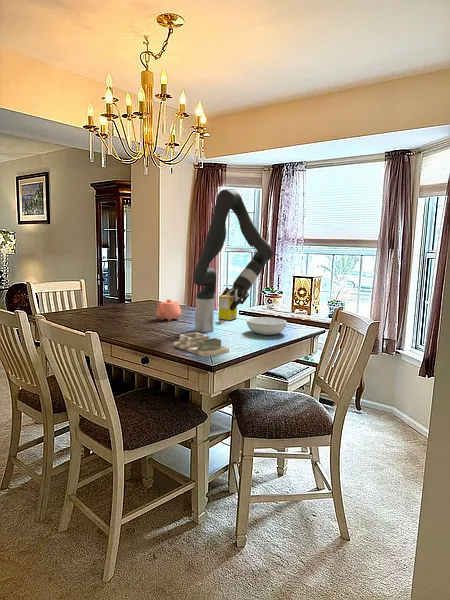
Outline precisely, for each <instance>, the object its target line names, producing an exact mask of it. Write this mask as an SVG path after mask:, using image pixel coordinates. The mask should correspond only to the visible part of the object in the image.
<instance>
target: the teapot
mask: <svg viewBox="0 0 450 600" xmlns="http://www.w3.org/2000/svg"><path fill="white" fill-rule="evenodd" d="M156 303H157V309H156V311H157V312H156V315H157V318H159V319H162V320H161V321H164V320H167V322H172V321H171V320H174V319H179V318H180V317H181V314H182V312H181V311H182V310H181V306H180V302H179V301H172V298H171V299H170V298H168V299H166V301H160V302H156Z"/></svg>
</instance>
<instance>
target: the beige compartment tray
mask: <svg viewBox="0 0 450 600" xmlns="http://www.w3.org/2000/svg"><path fill="white" fill-rule="evenodd" d="M178 337H179V340H178V341H173V346H174V347H176V348H178V349H180V350H181V349H182V350H184V351H187V352H190V353H192V354H194V355H197V356H199V357H203V358H205V357H210V356H214V355H219V354H224V353H229V352H230V348H229V347H226V346H222V339H219V338H216V337H212V338H210V336H209V335H207V334H203V333H202V332H198V331H197V332H196V331H195V332H189V333H183V334H179V336H178Z"/></svg>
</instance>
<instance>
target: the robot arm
mask: <svg viewBox="0 0 450 600" xmlns="http://www.w3.org/2000/svg"><path fill="white" fill-rule="evenodd" d="M230 210H232V212H233V214H234V215H235V217H236V218H237V221H238V224H239V230H240V232H241V234H242V236H243V237H244V240H245V241H246V243H247V244H248V245H249V246H250V247H251V248H253V247H254V248H255V249H256V250H257V251H256V252H255V253H254V254H253V257H252V258H251V260H250V261H249V262H248V263H247V265H246V266H245V268H244V269H243V270H242V271H241V272H240V273H239V274H238V276H237V277H236V279H235V280H234V281H233V284H232V287H231V288H229V287H226V288H225V289H224V291H223V292H222V293H221V295H220V296H222V295H232V296H235V302H233V303H232V305H231V306H230V310H231V311H233V310H234V309H235V308H236V307H238V305H243V304H244V303H245V302H246V300H247V299H248V297H250V294H249V290H250V289H251V287H252V286H253V285H254V283H255V282H256V279H257V278H258V277H259V275H260V274H261V273H262V270H263V268H264V267H265V265H266V264H267V263H268V262H269V261H270V260H271V259H272V258H273V257H274V250H273V248H272V246H271V245H270V243H268V242H267V240H266V239H264V238H263V236H262V235H261V233H260V232H259V230H258V228H257V227H256V226H255V224H254V222H253V220H252V219H251V217H250V214H249V212H248V210H247V207H246V206H245V203H244V200H243V198H242V195H241V194H240V192H239V191H238V190H236V189H233V188H227V189H222V190H220V191H219V193H218V194H217V195H216V200H215V204H214V210H213V214H212V218H211V220H210V221H211V222H210V224H209V229H208V231H207V234H206V238H205V241H204V244H203V248H202V251H201V255H200V257H199V259H198V261H197V264H196V266H195V269H194V272H193V276H192V278H193V283H194V284H195V285H196V286H200V287H201V286H202V289H201V290H199V291H197V292H196V300H195V307H196V309H195V310H196V311H195V312H194V330H195V332H196V331H197V332H198V333H211V332H213V331H214V318H215V317H214V313H215V311H214V309H215V308H214V307H215V304H214V303H215V293H216V290H217V289H216V288H217V273H216V270H215V269H214V268H212V267H210V265H211V263H212V261H213V260H214V259H215V258H216V257H217V256H218V254H220V252H221V251H222V249H223V247H224V245H225V241H226V237H227V227H226V226H227V224H226V222H227V218H228V214H229V212H230ZM218 307H219V304H218Z"/></svg>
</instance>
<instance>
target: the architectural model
mask: <svg viewBox="0 0 450 600" xmlns="http://www.w3.org/2000/svg"><path fill="white" fill-rule="evenodd" d="M216 319H218V324H219V323H220V324H221V325H222V323H223V324H226V323H227V321H223V320H219V316H218V317H216ZM225 322H226V323H225ZM220 324H219V325H220Z"/></svg>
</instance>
